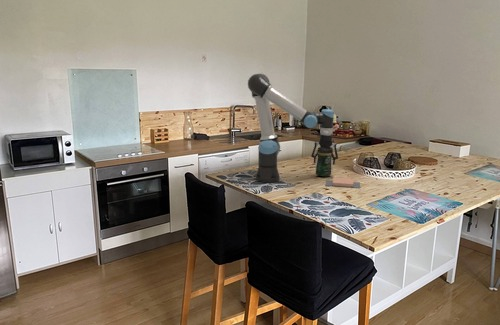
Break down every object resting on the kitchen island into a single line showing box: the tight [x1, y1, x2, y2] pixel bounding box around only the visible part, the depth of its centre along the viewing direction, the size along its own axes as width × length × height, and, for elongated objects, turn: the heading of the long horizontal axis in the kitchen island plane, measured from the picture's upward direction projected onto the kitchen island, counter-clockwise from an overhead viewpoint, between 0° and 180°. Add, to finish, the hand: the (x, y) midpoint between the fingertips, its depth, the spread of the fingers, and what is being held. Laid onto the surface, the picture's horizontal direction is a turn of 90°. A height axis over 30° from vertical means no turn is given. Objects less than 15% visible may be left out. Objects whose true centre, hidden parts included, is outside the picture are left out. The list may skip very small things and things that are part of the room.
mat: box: [325, 179, 361, 189], centre depth 228 cm, size 20×11×1 cm, turn 76°
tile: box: [332, 176, 354, 188], centre depth 228 cm, size 12×2×12 cm
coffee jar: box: [315, 146, 334, 177], centre depth 243 cm, size 10×8×19 cm
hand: (323, 168), depth 244 cm, fingers closed on coffee jar, 9 cm apart
